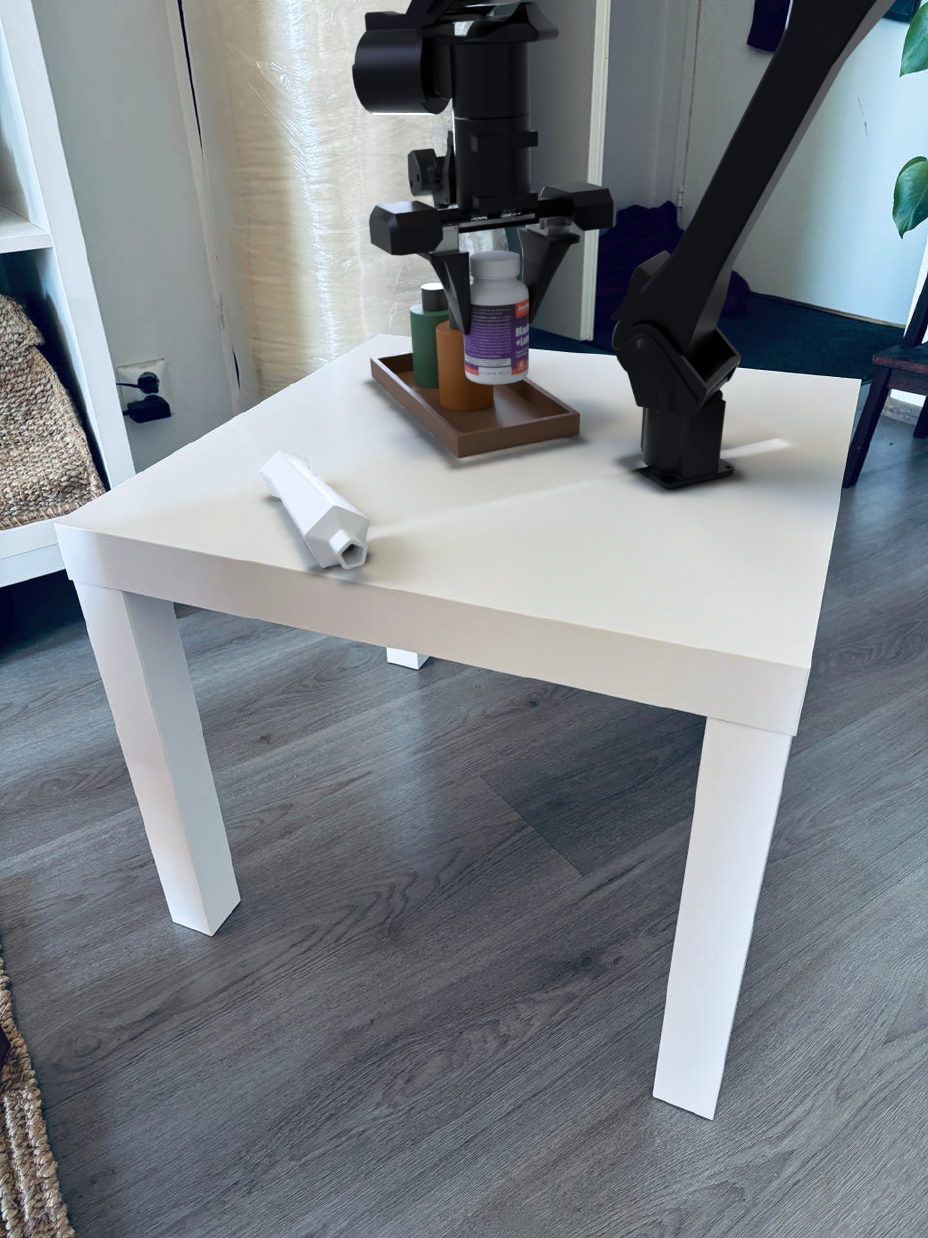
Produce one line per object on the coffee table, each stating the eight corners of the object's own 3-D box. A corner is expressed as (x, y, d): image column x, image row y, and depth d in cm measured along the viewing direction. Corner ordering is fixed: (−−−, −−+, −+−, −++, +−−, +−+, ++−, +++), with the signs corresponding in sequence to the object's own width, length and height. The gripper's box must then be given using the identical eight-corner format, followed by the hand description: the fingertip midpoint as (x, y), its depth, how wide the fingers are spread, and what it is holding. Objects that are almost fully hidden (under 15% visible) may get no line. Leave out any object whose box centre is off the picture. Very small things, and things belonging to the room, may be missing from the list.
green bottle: (472, 383, 93) (469, 288, 89) (424, 391, 92) (418, 295, 87) (453, 368, 97) (449, 276, 92) (407, 376, 96) (400, 283, 91)
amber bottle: (502, 405, 88) (500, 305, 83) (452, 415, 86) (447, 314, 82) (481, 389, 92) (478, 292, 87) (432, 398, 90) (426, 300, 85)
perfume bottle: (323, 481, 76) (396, 562, 64) (275, 509, 75) (340, 596, 64) (299, 433, 73) (371, 508, 62) (248, 461, 72) (311, 543, 61)
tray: (579, 442, 82) (580, 412, 81) (458, 466, 79) (457, 436, 77) (474, 365, 100) (473, 340, 99) (372, 383, 97) (369, 357, 96)
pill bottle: (529, 385, 79) (529, 261, 74) (464, 387, 79) (459, 264, 74) (528, 364, 83) (527, 246, 78) (466, 366, 84) (461, 249, 78)
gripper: (555, 99, 80) (554, 291, 88) (338, 117, 74) (359, 321, 83) (623, 107, 71) (615, 320, 79) (384, 129, 65) (402, 356, 74)
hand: (496, 328), depth 79 cm, fingers closed on pill bottle, 5 cm apart
